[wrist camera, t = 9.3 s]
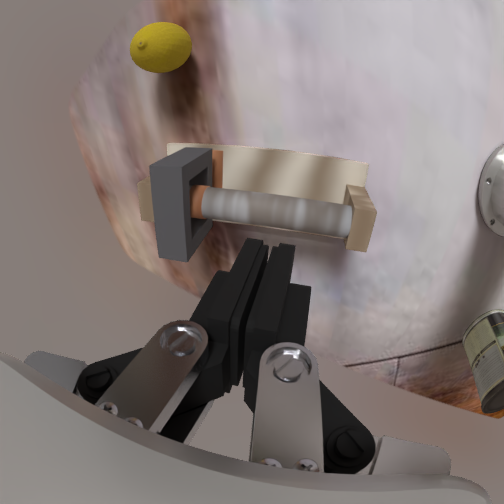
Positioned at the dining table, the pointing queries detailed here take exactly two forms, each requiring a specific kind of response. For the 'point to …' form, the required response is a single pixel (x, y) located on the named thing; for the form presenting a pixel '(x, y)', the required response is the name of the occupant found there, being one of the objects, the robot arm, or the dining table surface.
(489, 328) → the coffee can
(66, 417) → the robot arm
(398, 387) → the dining table surface
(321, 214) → the pipe stand
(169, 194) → the grey frame
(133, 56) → the lemon
